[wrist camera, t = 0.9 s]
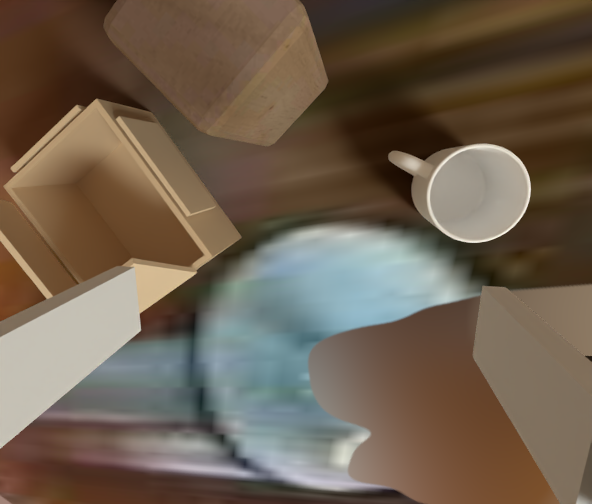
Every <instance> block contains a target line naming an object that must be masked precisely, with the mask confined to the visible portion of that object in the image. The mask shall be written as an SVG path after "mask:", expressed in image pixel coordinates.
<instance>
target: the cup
mask: <svg viewBox="0 0 592 504" xmlns="http://www.w3.org/2000/svg"><path fill="white" fill-rule="evenodd" d="M388 159H389V161H390V162H392V163H393V164H395V165H396V166H398V167H399V168H401V169H403V170H405V171H406V172H408V173H410V174H412V175H413V176H414V177H413V181H412V187H411V193H412V199H413V202H414V205H415V207H416V208H417V210H418V211H419V213H420V214H421V215H422V216H423V217H424V218H425V219H427V220H428V221H429V222H430V223H432V224H433V225H434V226H435V227H437V228H438V229H439V230H441V231H442V232H443V233H445V234H446V235H448V236H449V237H451V238H453V239H456V240H459V241H463V242H470V243H477V242H485V241H489V240H492V239H495V238H497V237H499V236H501V235H503V234H505V233H506V232H508V231H509V230H510V229H511V228H512V227H514V226H515V225H516V224H517V222H518V221H519V220H520V219H521V217H522V216H523V214H524V212H525V210H526V208H527V205H528V203H529V199H530V191H531V187H530V179H529V175H528V172H527V170H526V168H525V166H524V165H523V163H522V162H521V160H520V159H519V158H518V157H517V156H516V155H515V154H513V153H512V152H510V151H509V150H507V149H505V148H503V147H500V146H497V145H493V144H473V145H467V146H461V147H454V148H449V149H444V150H441V151H438V152H436V153H434V154H432V155H431V156H429V157H428V158H427V159H426V160H425V161H423V160H421V159H419V158H417V157H414V156H412V155H410V154H407V153H404V152H400V151H392V152H390V153H389V155H388Z"/></svg>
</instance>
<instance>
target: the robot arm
mask: <svg viewBox="0 0 592 504" xmlns="http://www.w3.org/2000/svg"><path fill="white" fill-rule="evenodd" d="M140 331H141V325H140V315H139V305H138V295H137V285H136V275H135V267H126V266H116V267H114V268H112V269H110V270H107V271H105V272H103V273H101V274H99V275H97V276H95V277H93V278H91V279H89V280H87V281H84V282H82V283H80V284H78V285H76V286H74V287H72V288H70V289H68V290H66V291H64V292H61V293H59V294H57V295H55V296H53V297H51V298H49V299H47V300H45V301H43V302H41V303H38V304H36V305H34V306H32V307H30V308H28V309H26V310H24V311H22V312H20V313H18V314H15V315H13V316H11V317H9V318H7V319H5V320H3V321H1V322H0V448H1V447H3V446H4V445H5V444H6V443H7V442H9V441H10V440H11V439H12V438H13V437H15V436H16V435H17V434H18V433H19V432H21V431H22V430H23V429H24V428H25V427H26V426H28V425H29V424H30V423H31V422H32V421H34V420H35V419H36V418H37V417H38V416H40V415H41V414H42V413H43V412H44V411H46V410H47V409H48V408H49V407H50V406H52V405H53V404H54V403H55V402H56V401H57V400H59V399H60V398H61V397H62V396H63V395H65V394H66V393H67V392H68V391H69V390H71V389H72V388H73V387H74V386H75V385H77V384H78V383H79V382H80V381H81V380H83V379H84V378H85V377H86V376H87V375H88V374H90V373H91V372H92V371H93V370H94V369H96V368H97V367H98V366H99V365H100V364H102V363H103V362H104V361H105V360H106V359H108V358H109V357H110V356H111V355H112V354H114V353H115V352H116V351H117V350H118V349H119V348H121V347H122V346H123V345H124V344H125V343H127V342H128V341H129V340H130V339H131V338H133V337H134V336H135V335H136V334H137V333H139V332H140ZM473 358H474V360H475V361H476V363H477V365H478V366H479V368H480V370H481V371H482V373H483V375H484V376H485V378H486V380H487V381H488V383H489V385H490V386H491V388H492V390H493V391H494V393H495V395H496V396H497V398H498V400H499V402H500V403H501V405H502V407H503V408H504V410H505V411H506V413H507V415H508V417H509V418H510V420H511V422H512V423H513V425H514V427H515V428H516V430H517V432H518V433H519V435H520V437H521V438H522V440H523V442H524V443H525V445H526V447H527V448H528V450H529V452H530V453H531V455H532V457H533V459H534V460H535V462H536V464H537V465H538V467H539V468H540V470H541V472H542V474H543V475H544V477H545V479H546V480H547V482H548V484H549V485H550V487H551V489H552V490H553V492H554V494H555V495H556V497H557V499H558V500H559V502H560V504H592V356H584V355H583V354H582V353H581V352H579V351H578V350H577V349H576V348H575V347H574V346H573V345H572V344H570V343H569V342H568V341H567V340H566V339H565V338H563V337H562V336H561V335H560V334H559V333H557V331H555V330H554V329H553V328H552V327H551V326H550V325H548V324H547V323H546V322H545V321H544V320H543V319H542V318H540V317H539V316H538V315H537V314H536V313H534V312H533V311H532V310H531V309H530V308H529V307H528V306H526V305H525V304H524V303H523V302H522V301H521V300H520V299H518V298H517V297H516V296H515V295H514V294H513V293H512V292H510V291H509V290H508V289H507V288H506V287H489V286H483V287H482V294H481V301H480V308H479V315H478V322H477V329H476V336H475V344H474V350H473Z"/></svg>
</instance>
